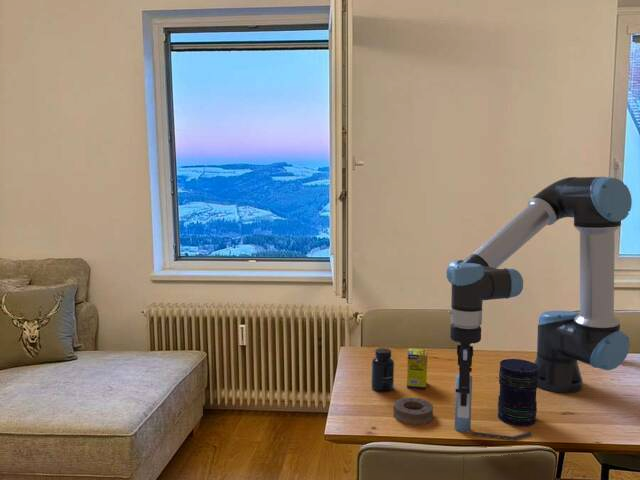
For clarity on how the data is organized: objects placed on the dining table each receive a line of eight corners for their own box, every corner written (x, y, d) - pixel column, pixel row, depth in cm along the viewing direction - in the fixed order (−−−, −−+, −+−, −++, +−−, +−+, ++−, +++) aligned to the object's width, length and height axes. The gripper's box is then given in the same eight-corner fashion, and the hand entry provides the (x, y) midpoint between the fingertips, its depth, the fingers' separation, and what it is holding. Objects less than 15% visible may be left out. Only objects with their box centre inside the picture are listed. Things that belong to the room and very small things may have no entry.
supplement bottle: (388, 394, 158) (388, 355, 157) (367, 389, 162) (368, 351, 161) (397, 386, 164) (398, 349, 163) (377, 382, 168) (377, 345, 166)
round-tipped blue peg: (470, 426, 138) (472, 367, 136) (470, 433, 134) (472, 372, 132) (454, 424, 139) (456, 365, 137) (454, 431, 135) (456, 371, 133)
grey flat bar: (531, 434, 134) (531, 432, 134) (533, 442, 129) (533, 440, 129) (472, 427, 137) (472, 425, 137) (472, 435, 133) (472, 432, 133)
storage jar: (493, 409, 148) (495, 358, 146) (530, 411, 147) (532, 359, 145) (502, 426, 138) (504, 371, 136) (541, 428, 137) (544, 372, 135)
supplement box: (426, 389, 162) (427, 355, 160) (406, 388, 163) (407, 354, 162) (426, 382, 167) (427, 349, 166) (407, 381, 169) (408, 347, 167)
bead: (433, 410, 147) (433, 400, 147) (431, 426, 138) (431, 415, 137) (396, 406, 150) (396, 395, 150) (391, 422, 140) (391, 411, 140)
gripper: (451, 312, 146) (449, 386, 149) (449, 337, 123) (446, 425, 125) (480, 313, 144) (477, 389, 147) (482, 340, 121) (479, 429, 123)
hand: (463, 406), depth 136 cm, fingers open, 12 cm apart
